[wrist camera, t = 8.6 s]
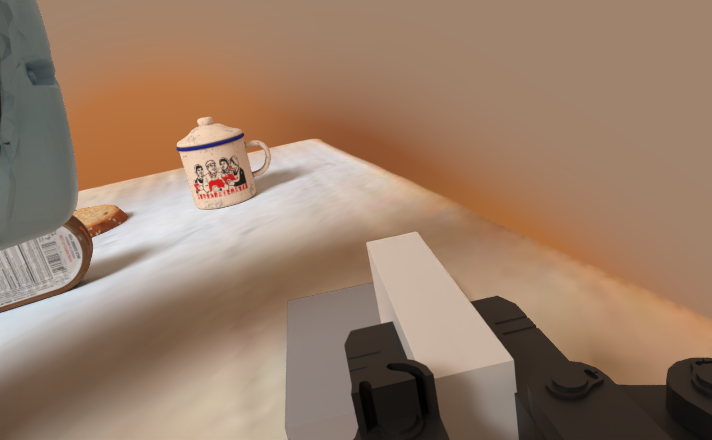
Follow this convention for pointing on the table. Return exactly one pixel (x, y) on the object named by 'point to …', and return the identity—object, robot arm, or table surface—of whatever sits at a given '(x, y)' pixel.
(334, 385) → the ceramic tile
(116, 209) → the bread slice
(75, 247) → the tin
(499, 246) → the table surface
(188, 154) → the teacup with lid
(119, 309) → the table surface
